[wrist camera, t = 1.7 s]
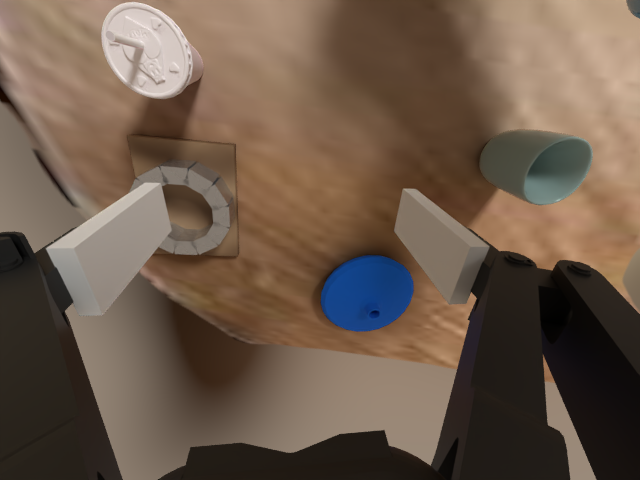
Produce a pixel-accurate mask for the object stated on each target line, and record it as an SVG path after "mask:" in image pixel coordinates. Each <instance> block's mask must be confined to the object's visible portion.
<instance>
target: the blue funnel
mask: <svg viewBox="0 0 640 480" xmlns="http://www.w3.org/2000/svg"><path fill="white" fill-rule="evenodd" d="M412 295H413V280H412V277H411V275H410V273H409V272H408V270H407V269H406V268H405V267H404V266H403V265H401V264H400V263H398V262H396V261H394V260H393V259H391V258H388V257H384V256H380V255H366V256H361V257H357V258H354V259H351V260H349V261H347V262H345V263H343V264H342V265H340V266H339V267H338V268H336V269H335V270H334V271H333V272H332V273H331V275H330V276H329V277H328V278H327V280H326V282H325V285H324V287H323V290H322V293H321V306H322V310H323V312H324V314H325V315H326V317H327V318H328V319H329V320H330V321H331V322H333V323H334V324H335V325H337V326H339V327H342V328H344V329H347V330H351V331H357V332H358V331H371V330H375V329H379V328H381V327H384V326H386V325H388V324H390V323H391V322H393V321H394V320H396V319H397V318H398V317H399V316H400V315H401V314H402V313H403V312H404V311H405V309H406V308H407V306H408V305H409V303H410V301H411V298H412Z"/></svg>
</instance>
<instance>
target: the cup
mask: <svg viewBox="0 0 640 480" xmlns="http://www.w3.org/2000/svg"><path fill="white" fill-rule="evenodd" d="M592 155H593V152H592V148H591V145H590V144H589V143H588V142H587V141H586V140H584V139H583V138H580V137H576V136H573V135H568V134H562V133H556V132H550V131H542V130H530V129H517V130H510V131H506V132H503V133H500V134H498V135H496V136H495V137H493V138H492V139H491V140H490V141H489V142H488V143H487V144H486V145H485V147H484V149H483V151H482V153H481V156H480V161H479V166H480V171H481V173H482V175H483V177H484V178H485V179H486V180H487V181H488V182H490V183H491V184H492V185H494V186H495V187H497V188H499V189H501V190H503V191H505V192H507V193H509V194H511V195H513V196H515V197H517V198H519V199H521V200H523V201H526V202H528V203H531V204H536V205H547V204H552V203H556V202H558V201H561V200H563V199H565V198H566V197H568V196H569V195H571V194H572V193H573V192H574V191H575V190H576V189H577V188H578V187H579V186H580V184H581V183H582V182H583V180H584V179H585V177H586V175H587V173H588V171H589V169H590V166H591V162H592Z"/></svg>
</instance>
